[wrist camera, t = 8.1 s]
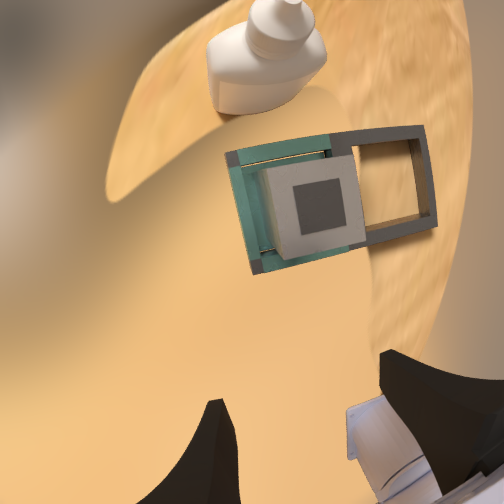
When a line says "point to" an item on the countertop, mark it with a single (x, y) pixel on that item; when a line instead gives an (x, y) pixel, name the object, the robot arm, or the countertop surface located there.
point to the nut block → (311, 206)
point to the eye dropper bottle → (264, 58)
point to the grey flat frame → (331, 146)
